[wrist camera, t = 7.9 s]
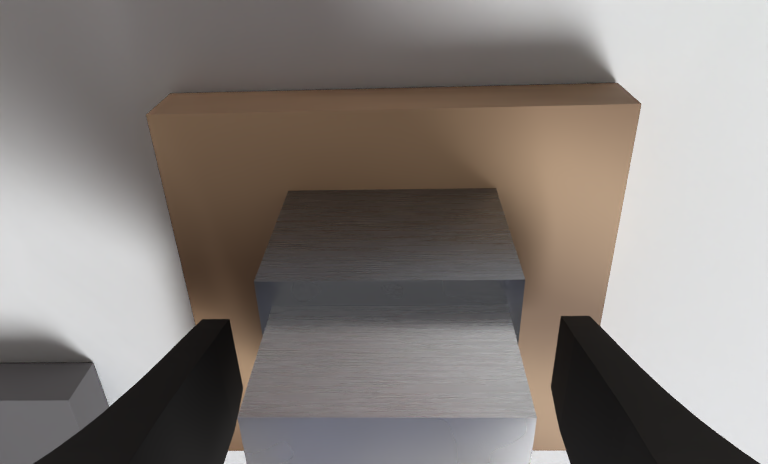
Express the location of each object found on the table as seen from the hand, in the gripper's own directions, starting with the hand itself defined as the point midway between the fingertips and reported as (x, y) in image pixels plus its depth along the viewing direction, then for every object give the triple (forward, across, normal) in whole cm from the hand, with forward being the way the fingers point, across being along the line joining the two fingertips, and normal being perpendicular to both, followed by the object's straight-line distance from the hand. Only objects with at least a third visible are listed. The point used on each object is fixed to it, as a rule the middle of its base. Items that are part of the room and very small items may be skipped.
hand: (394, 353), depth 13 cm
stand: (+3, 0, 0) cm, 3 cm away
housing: (+2, 0, 0) cm, 2 cm away
